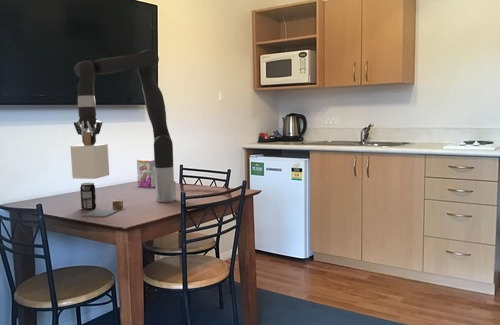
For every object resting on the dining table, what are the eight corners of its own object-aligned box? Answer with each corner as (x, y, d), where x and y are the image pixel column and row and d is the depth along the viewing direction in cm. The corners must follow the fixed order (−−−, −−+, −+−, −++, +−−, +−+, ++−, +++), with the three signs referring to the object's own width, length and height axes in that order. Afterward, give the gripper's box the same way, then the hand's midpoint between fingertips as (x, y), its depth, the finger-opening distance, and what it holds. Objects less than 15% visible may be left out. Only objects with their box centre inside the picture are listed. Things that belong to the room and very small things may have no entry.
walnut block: (122, 207, 220) (122, 199, 220) (121, 209, 216) (121, 201, 216) (114, 208, 220) (113, 199, 219) (112, 209, 216) (112, 201, 215)
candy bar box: (137, 186, 281) (136, 159, 279) (143, 185, 285) (142, 159, 283) (151, 188, 275) (149, 160, 273) (156, 186, 279) (155, 159, 277)
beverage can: (91, 206, 224) (89, 182, 222) (99, 208, 220) (97, 183, 218) (78, 209, 219) (77, 183, 217) (86, 210, 215) (85, 185, 213)
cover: (109, 175, 217) (106, 131, 215) (95, 178, 206) (92, 132, 204) (87, 174, 220) (84, 131, 218) (72, 178, 209) (69, 132, 207)
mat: (117, 211, 211) (117, 210, 211) (105, 217, 200) (105, 215, 200) (96, 211, 213) (96, 209, 213) (82, 216, 203) (82, 215, 203)
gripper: (105, 105, 211) (107, 143, 213) (78, 106, 215) (80, 143, 217) (96, 105, 204) (98, 144, 206) (68, 106, 207) (70, 144, 209)
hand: (89, 143), depth 211 cm, fingers closed on cover, 3 cm apart
